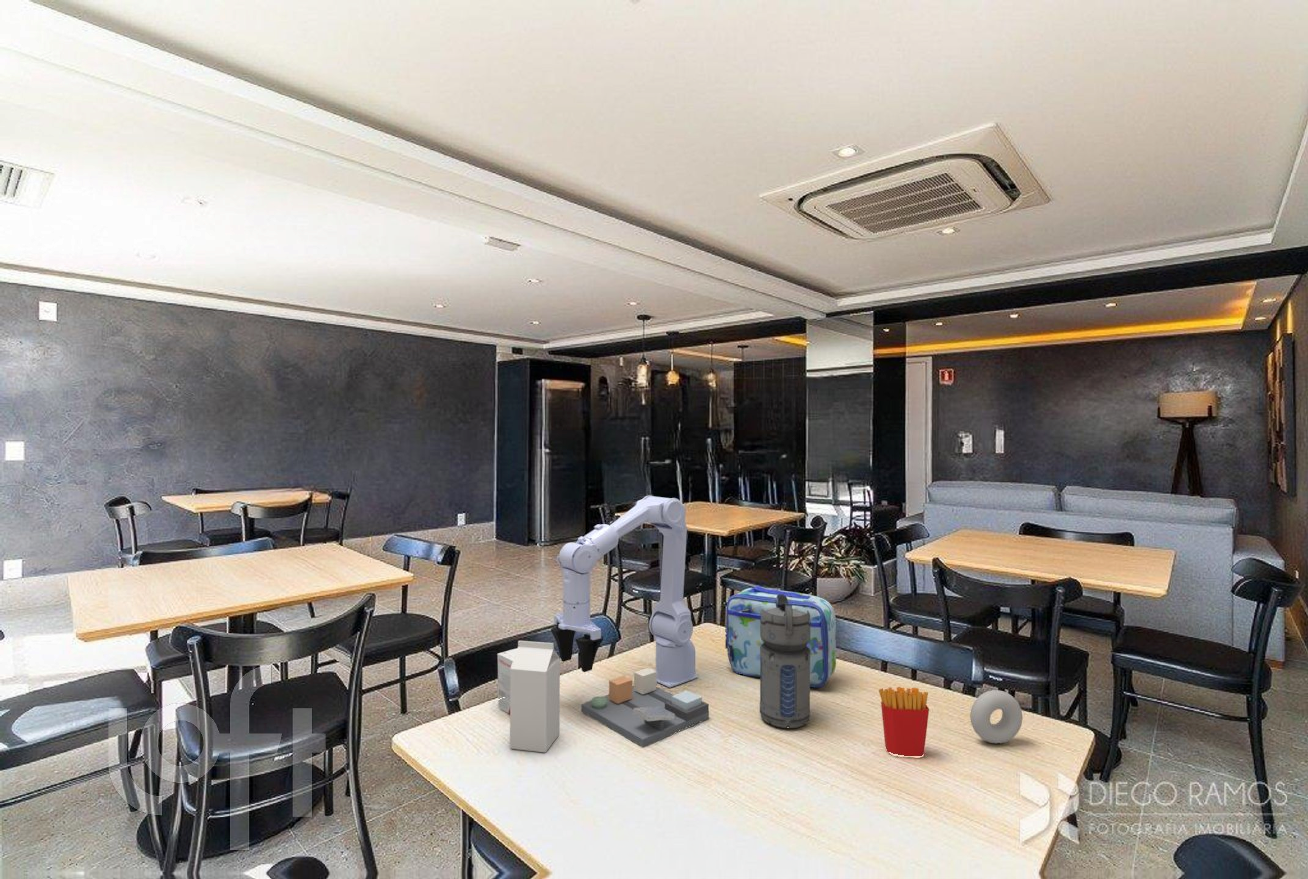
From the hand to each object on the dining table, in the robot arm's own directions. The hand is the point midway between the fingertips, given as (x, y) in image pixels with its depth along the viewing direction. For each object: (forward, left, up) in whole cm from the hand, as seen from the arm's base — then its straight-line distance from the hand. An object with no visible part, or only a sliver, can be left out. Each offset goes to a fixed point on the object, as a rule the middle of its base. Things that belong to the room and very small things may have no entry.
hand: (576, 665), depth 128 cm
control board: (-10, +10, -10) cm, 17 cm away
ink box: (+9, -9, -10) cm, 16 cm away
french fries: (-36, +53, -10) cm, 65 cm away
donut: (-53, +63, -10) cm, 83 cm away
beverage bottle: (-31, +30, -10) cm, 44 cm away
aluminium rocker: (-6, +18, -6) cm, 20 cm away
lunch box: (-48, +16, -10) cm, 52 cm away
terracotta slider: (-9, +4, -8) cm, 13 cm away
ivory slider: (-16, +4, -8) cm, 18 cm away
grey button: (-16, +17, -7) cm, 24 cm away
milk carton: (+13, +5, -10) cm, 17 cm away
